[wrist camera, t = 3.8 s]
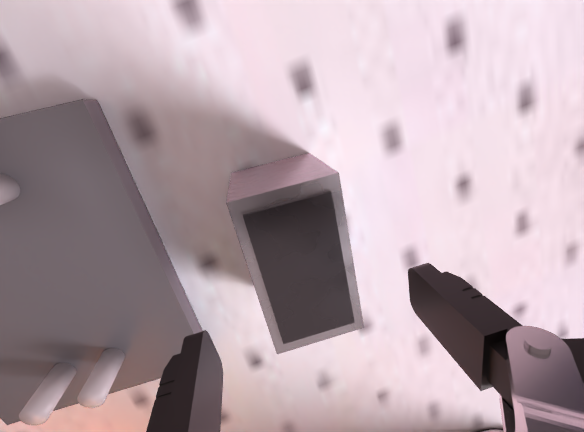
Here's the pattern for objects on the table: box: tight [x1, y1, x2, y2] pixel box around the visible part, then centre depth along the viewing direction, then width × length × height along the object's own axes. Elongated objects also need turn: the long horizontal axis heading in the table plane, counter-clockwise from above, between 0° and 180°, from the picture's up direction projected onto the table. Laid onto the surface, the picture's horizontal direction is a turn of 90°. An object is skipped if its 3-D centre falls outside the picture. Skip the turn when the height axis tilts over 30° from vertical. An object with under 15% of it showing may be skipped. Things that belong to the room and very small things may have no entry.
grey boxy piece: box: [226, 153, 364, 354], centre depth 17 cm, size 5×9×6 cm, turn 12°
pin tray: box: [0, 99, 202, 425], centre depth 16 cm, size 14×18×4 cm
